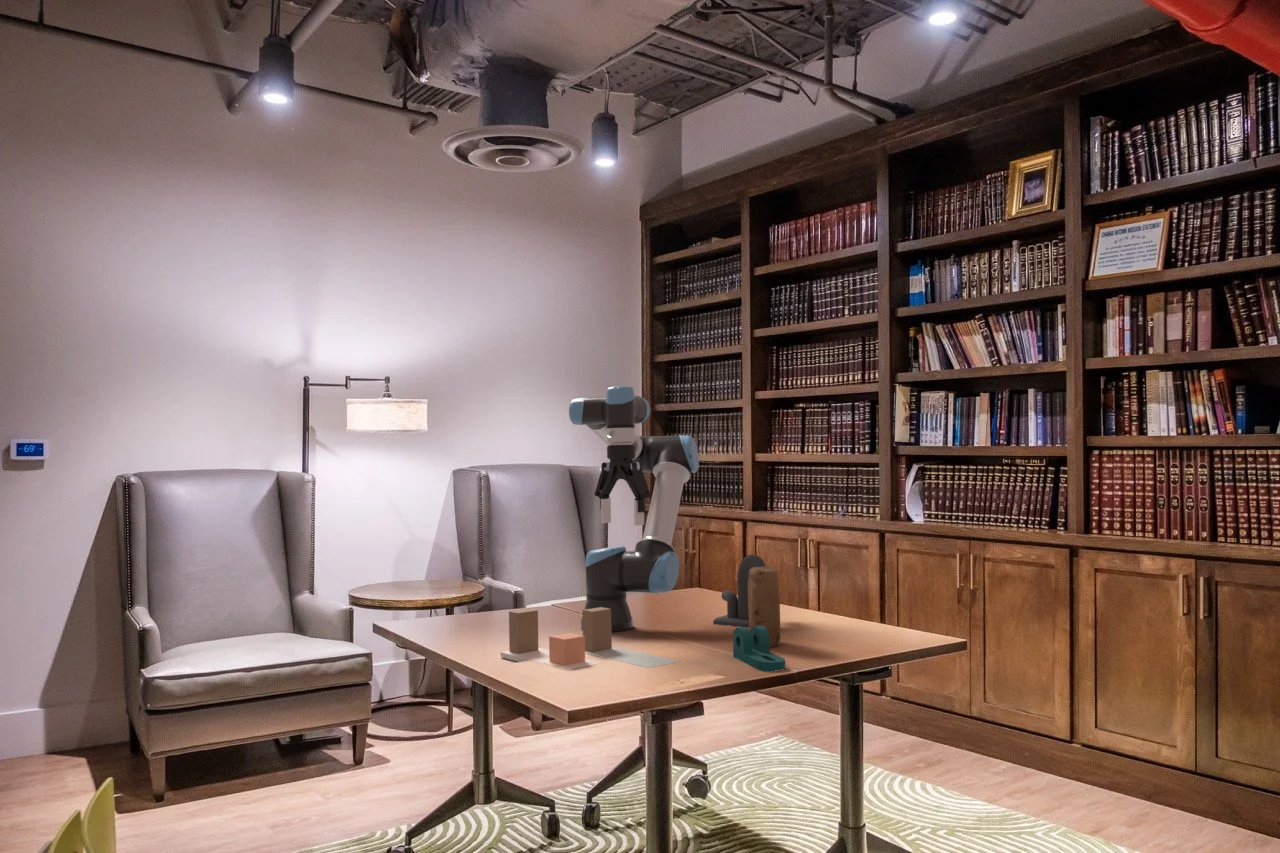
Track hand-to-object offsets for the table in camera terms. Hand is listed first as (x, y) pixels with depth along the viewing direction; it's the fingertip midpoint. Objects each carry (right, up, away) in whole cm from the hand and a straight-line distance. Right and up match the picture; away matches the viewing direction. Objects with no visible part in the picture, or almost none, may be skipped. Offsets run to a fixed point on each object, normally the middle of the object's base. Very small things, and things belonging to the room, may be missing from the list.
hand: (622, 524), depth 256 cm
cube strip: (-17, -31, -23) cm, 43 cm away
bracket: (+33, -31, -27) cm, 53 cm away
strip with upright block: (+1, -31, -23) cm, 39 cm away
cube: (-13, -30, -28) cm, 43 cm away
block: (+37, -31, -5) cm, 49 cm away
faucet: (+38, -32, +28) cm, 57 cm away
